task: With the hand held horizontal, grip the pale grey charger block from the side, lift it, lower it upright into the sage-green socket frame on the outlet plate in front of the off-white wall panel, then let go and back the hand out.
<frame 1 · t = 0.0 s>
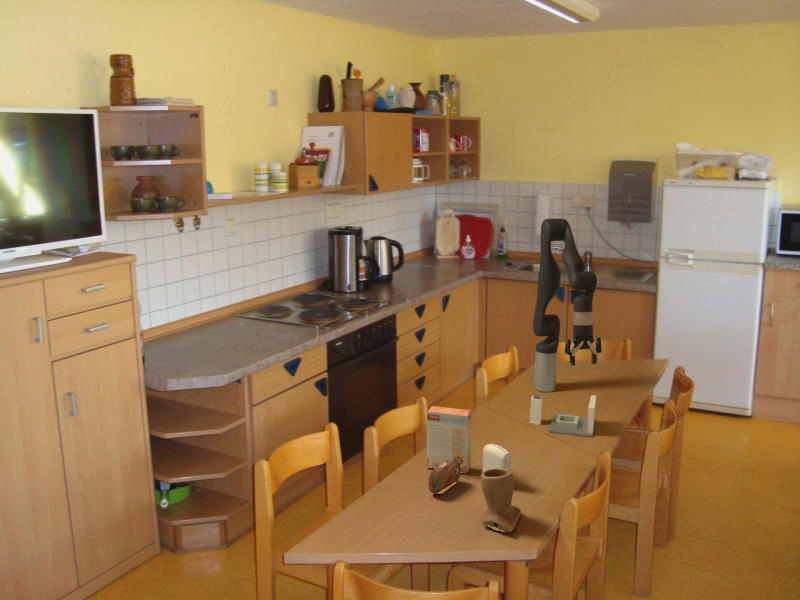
hand: (583, 364, 301), 22 cm above the table, tool pointing down, fingers open, 8 cm apart
stone cup: (498, 521, 229), on the table
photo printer: (496, 482, 253), on the table
tin: (444, 489, 248), on the table
charger block: (535, 422, 303), on the table
wall outlet: (572, 426, 299), on the table
cracker box: (448, 468, 263), on the table
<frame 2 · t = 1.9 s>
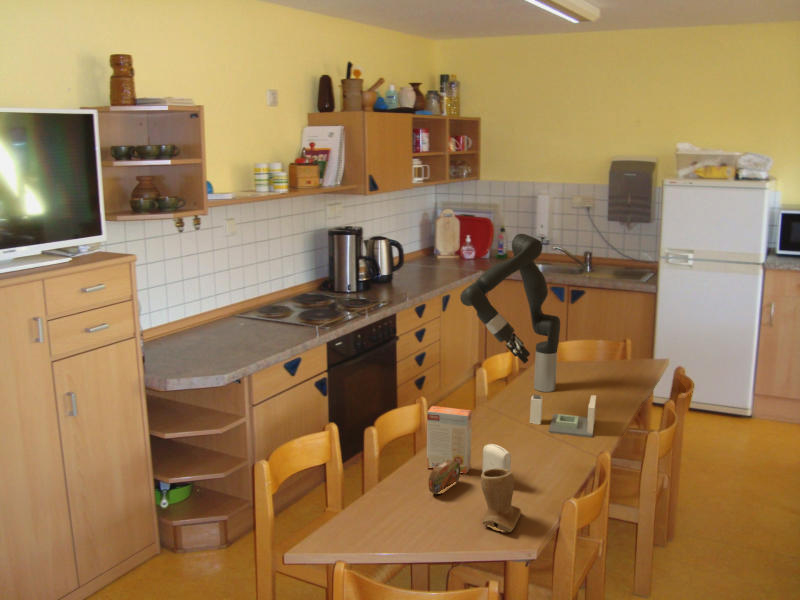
hand: (527, 358, 301), 25 cm above the table, tool tilted 45°, fingers open, 8 cm apart
nothing on the table moved.
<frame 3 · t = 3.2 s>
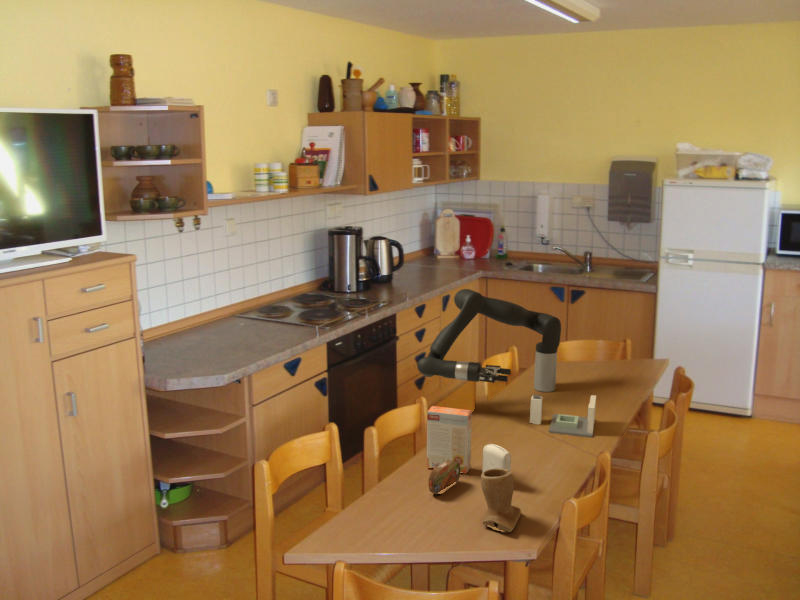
hand: (509, 375, 302), 18 cm above the table, tool horizontal, fingers open, 8 cm apart
nothing on the table moved.
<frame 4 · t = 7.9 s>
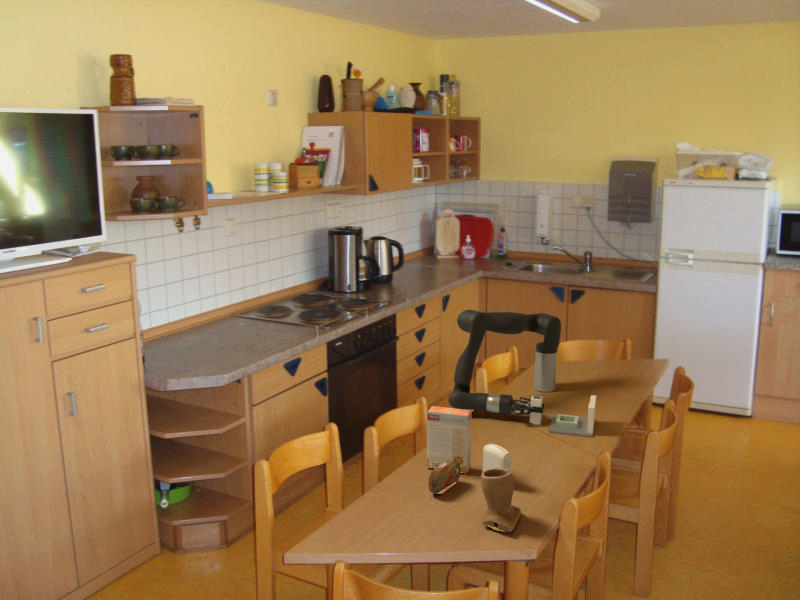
hand: (543, 408, 301), 6 cm above the table, tool horizontal, fingers closed on charger block, 4 cm apart
charger block: (535, 422, 303), on the table, touching gripper
everything else where it was.
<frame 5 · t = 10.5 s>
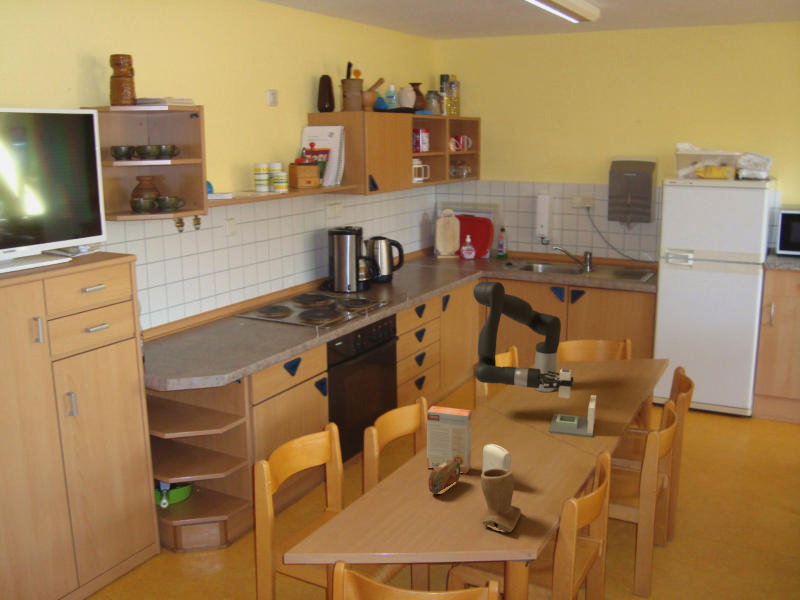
hand: (572, 381, 295), 18 cm above the table, tool horizontal, fingers closed on charger block, 4 cm apart
charger block: (564, 396, 297), point 12 cm above the table, touching gripper
everything else where it was.
when the fingers open (8 cm above the table, at t = 13.4 s): charger block drops 1 cm, resting on wall outlet.
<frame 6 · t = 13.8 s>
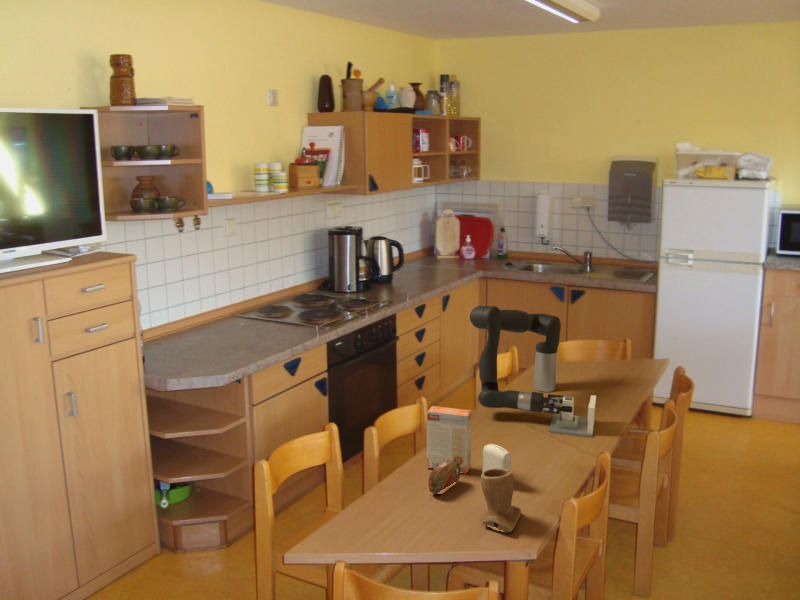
hand: (573, 405, 297), 8 cm above the table, tool horizontal, fingers open, 8 cm apart
charger block: (567, 423, 299), point 1 cm above the table, touching wall outlet
everything else where it was.
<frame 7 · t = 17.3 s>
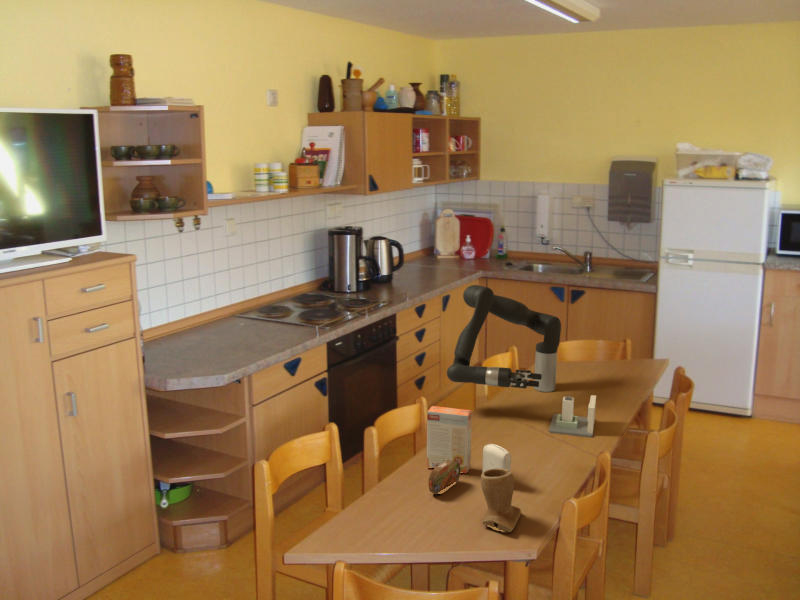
hand: (540, 380, 299), 17 cm above the table, tool horizontal, fingers open, 8 cm apart
nothing on the table moved.
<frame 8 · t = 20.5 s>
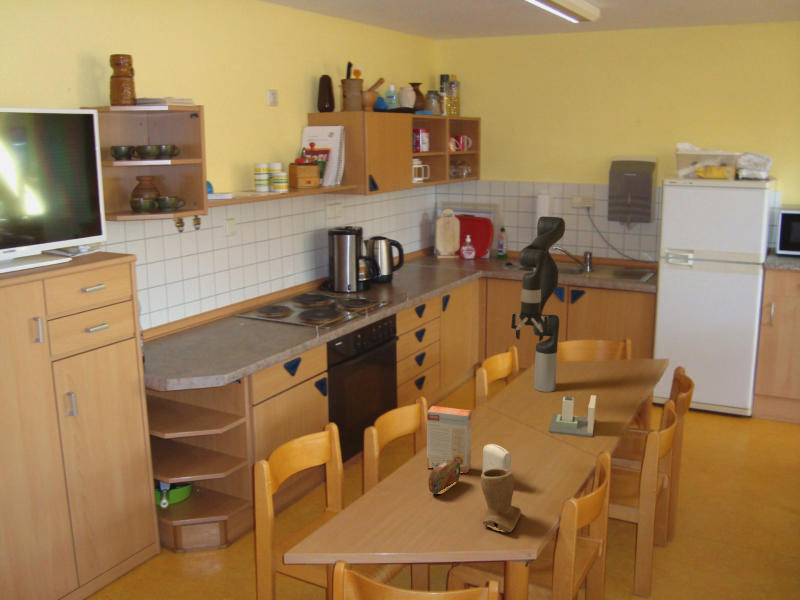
hand: (529, 339, 307), 30 cm above the table, tool pointing down, fingers open, 8 cm apart
nothing on the table moved.
at the end: charger block 0.1 cm from the target spot on the wall outlet, point 0.8 cm above the wall outlet's base; charger block tilted 0°; the gripper is holding nothing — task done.
